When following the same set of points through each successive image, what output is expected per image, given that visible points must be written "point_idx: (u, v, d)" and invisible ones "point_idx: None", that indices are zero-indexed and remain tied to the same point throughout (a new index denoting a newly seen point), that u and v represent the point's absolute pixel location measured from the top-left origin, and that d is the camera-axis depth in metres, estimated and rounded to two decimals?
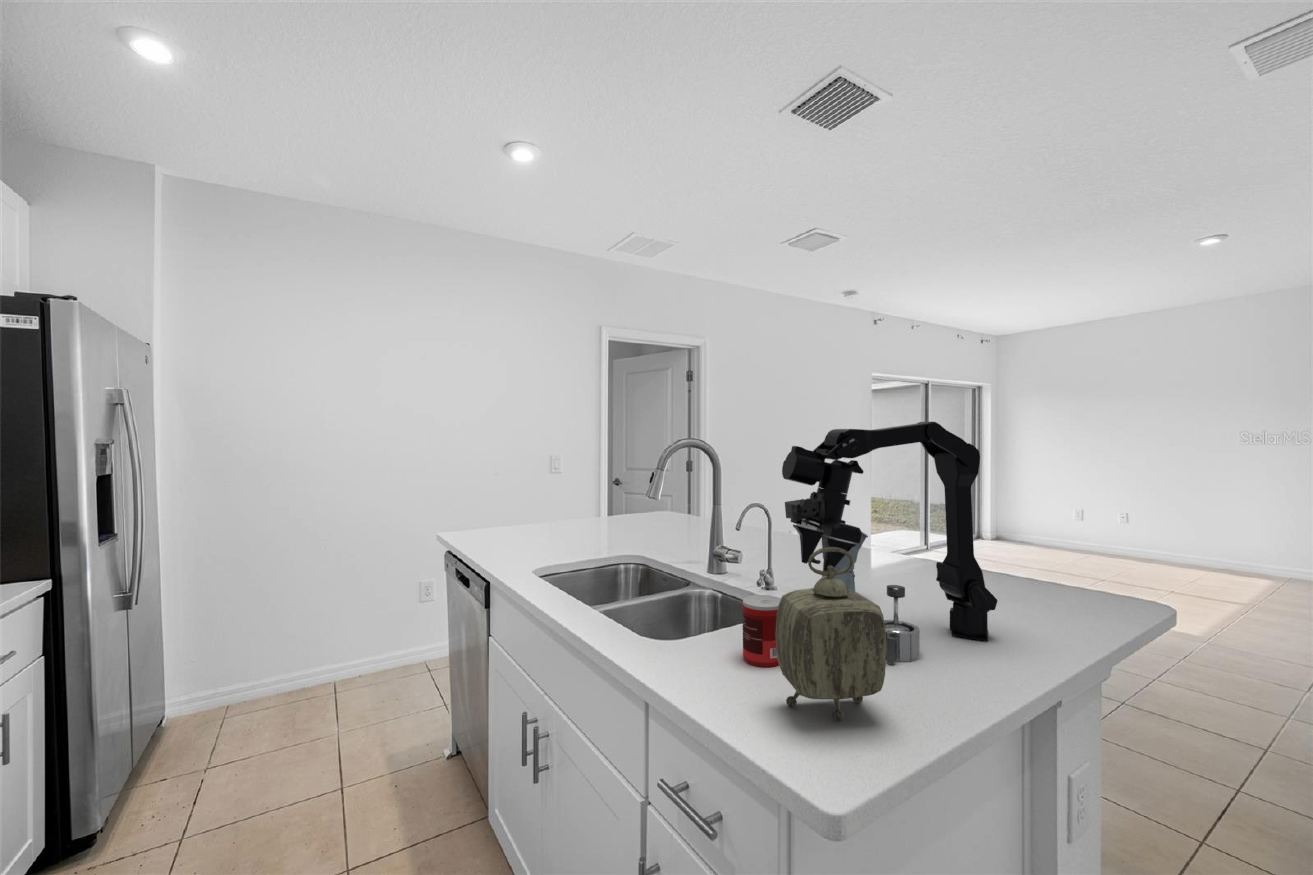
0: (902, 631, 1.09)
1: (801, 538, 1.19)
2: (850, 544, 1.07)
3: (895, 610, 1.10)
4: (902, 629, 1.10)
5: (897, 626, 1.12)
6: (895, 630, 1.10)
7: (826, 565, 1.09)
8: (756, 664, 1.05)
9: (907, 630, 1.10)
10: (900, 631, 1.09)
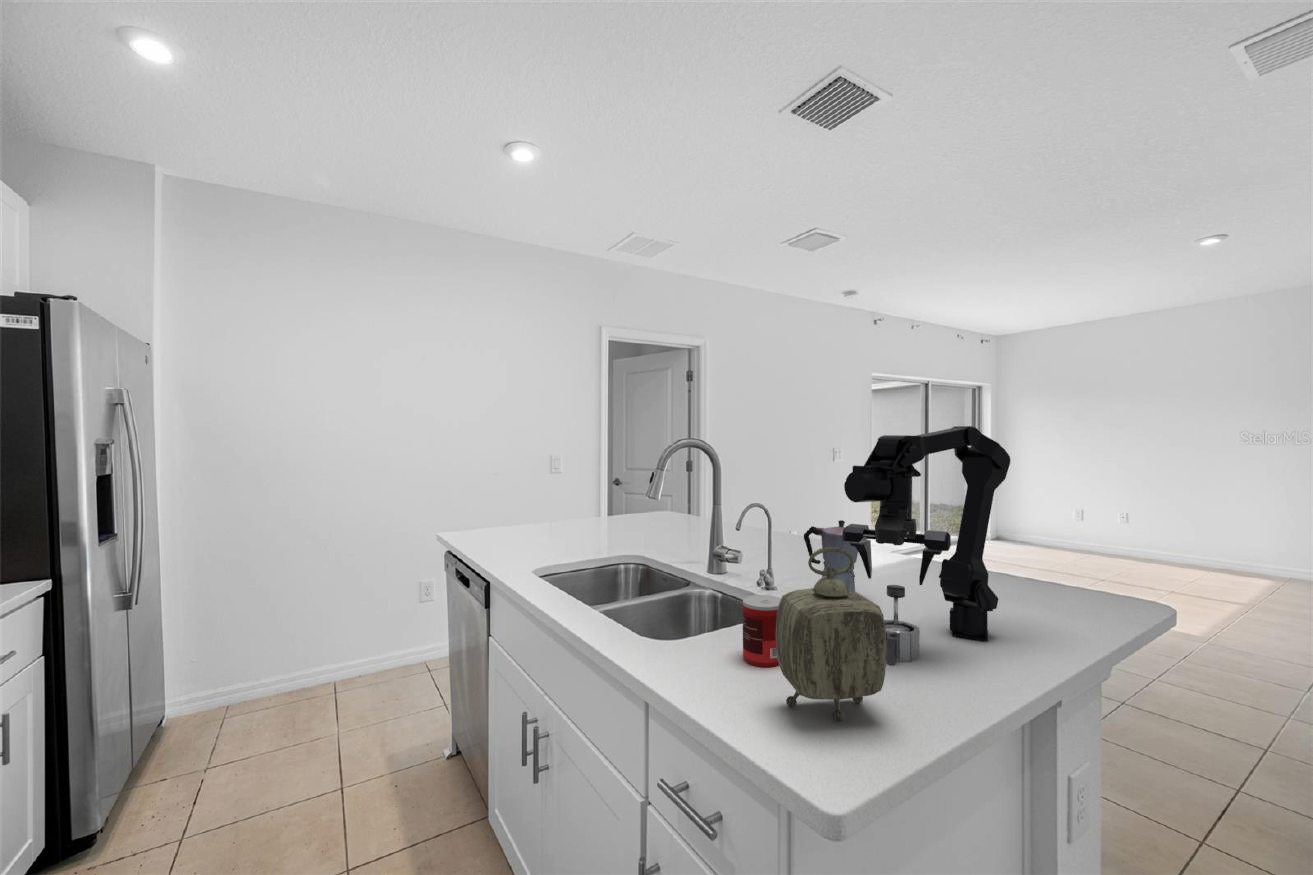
0: (902, 631, 1.09)
1: (864, 555, 1.14)
2: None
3: (895, 610, 1.10)
4: (902, 629, 1.10)
5: (897, 626, 1.12)
6: (895, 630, 1.10)
7: (924, 576, 1.09)
8: (756, 664, 1.05)
9: (907, 630, 1.10)
10: (900, 631, 1.09)
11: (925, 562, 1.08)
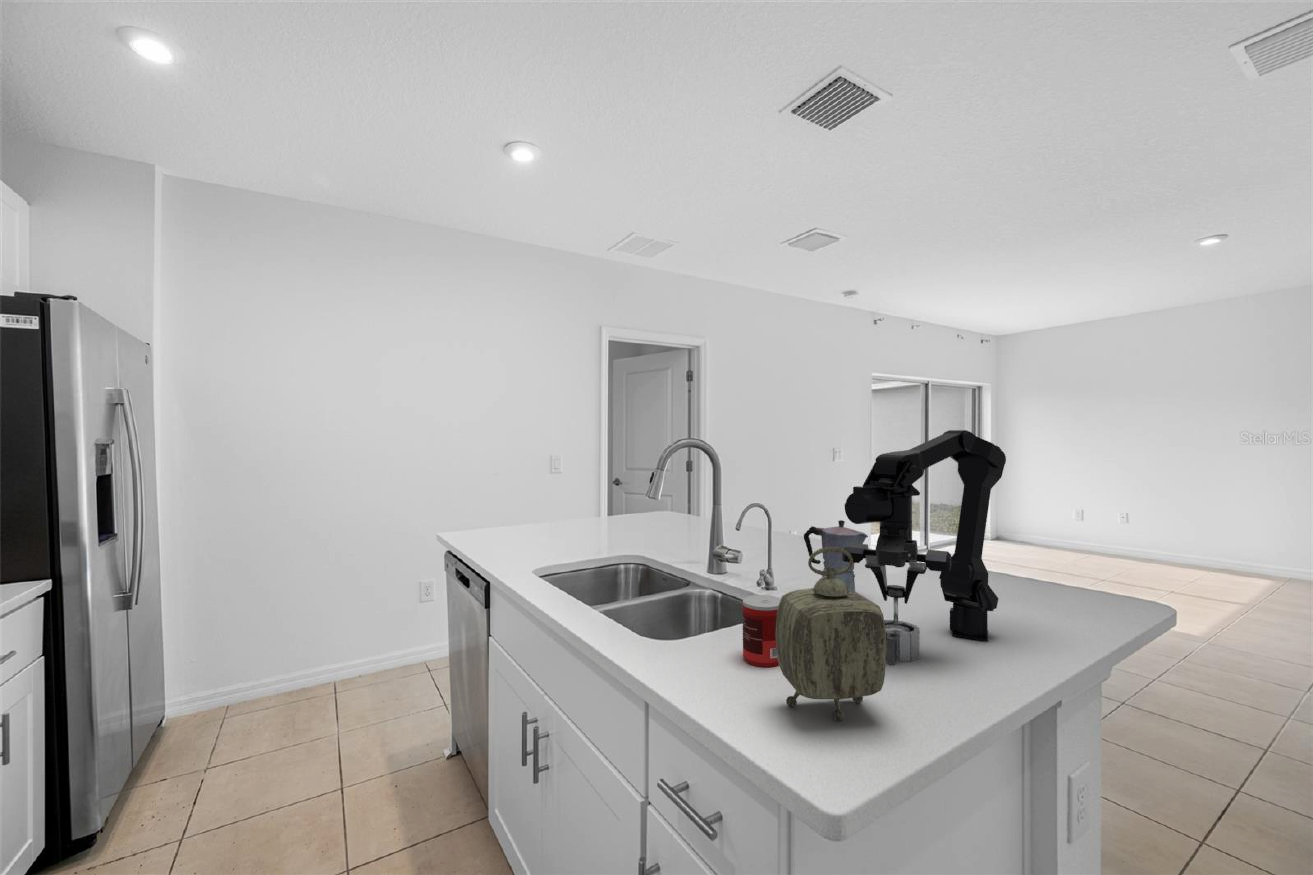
0: (902, 631, 1.09)
1: (879, 577, 1.11)
2: (926, 567, 1.09)
3: (895, 610, 1.10)
4: (902, 629, 1.10)
5: (897, 626, 1.12)
6: (895, 630, 1.10)
7: (909, 595, 1.09)
8: (756, 664, 1.05)
9: (907, 630, 1.10)
10: (900, 631, 1.09)
11: (909, 581, 1.08)
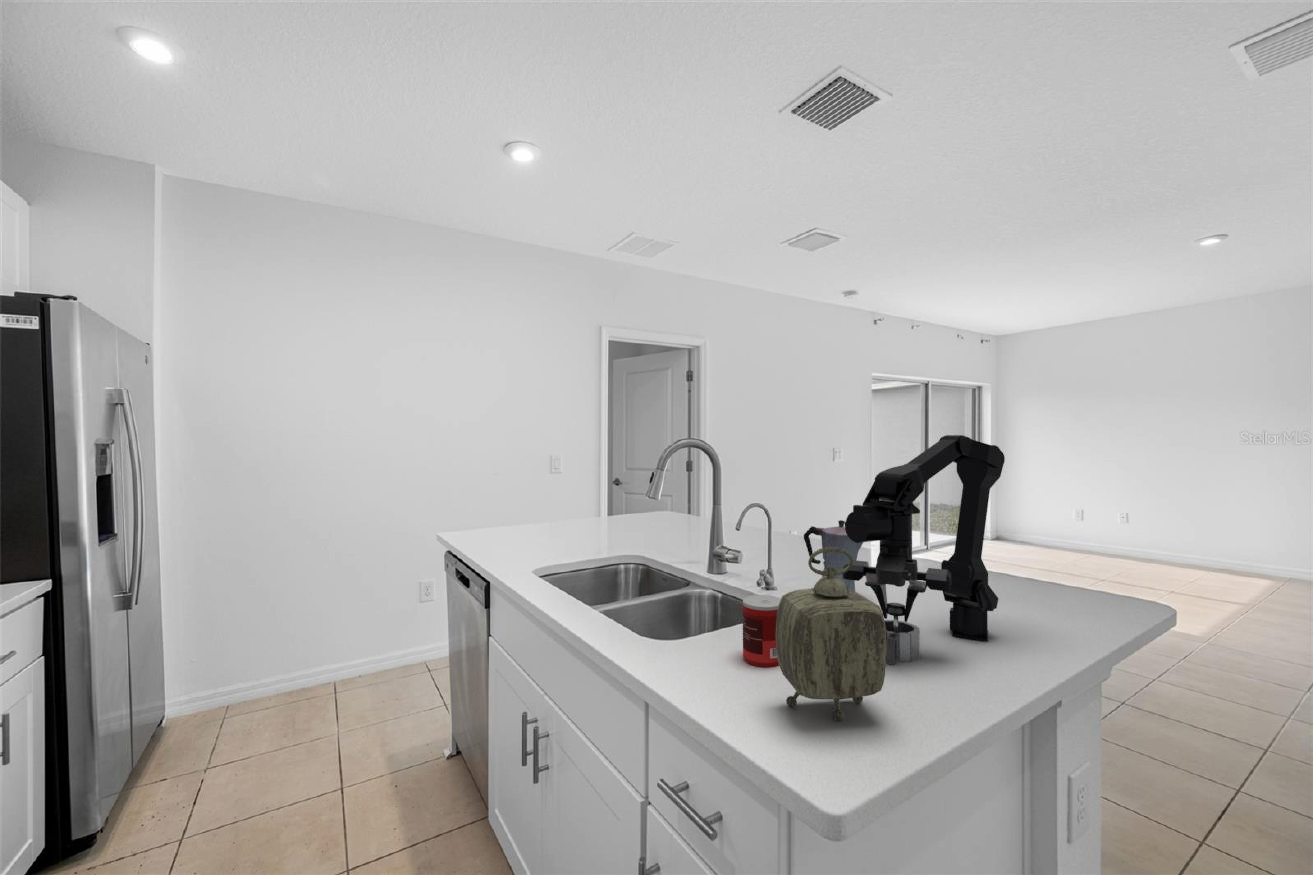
0: None
1: (879, 595, 1.11)
2: (926, 586, 1.10)
3: (895, 628, 1.11)
4: None
5: None
6: None
7: (909, 613, 1.09)
8: (756, 664, 1.05)
9: None
10: None
11: (909, 599, 1.08)
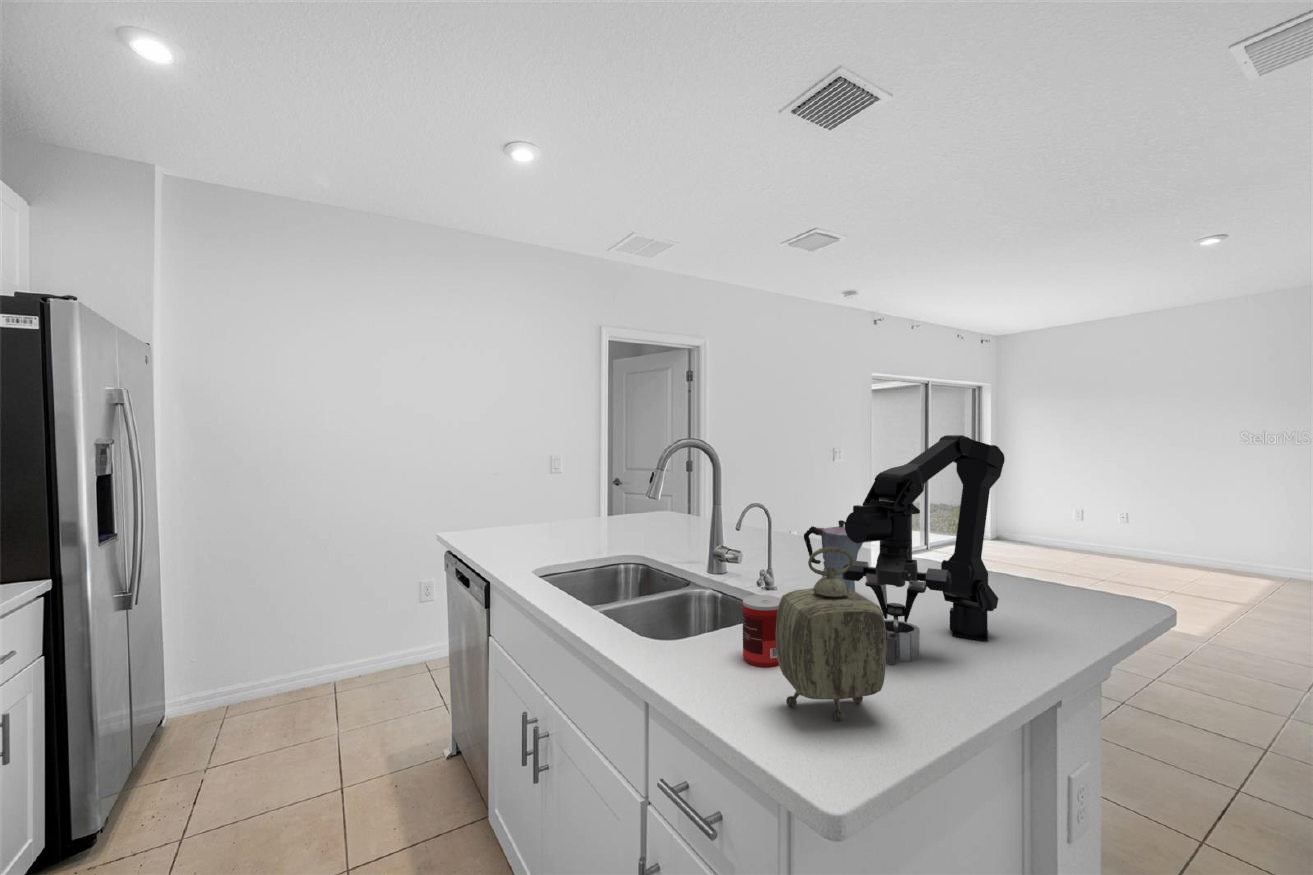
0: None
1: (880, 595, 1.11)
2: (926, 586, 1.10)
3: (895, 628, 1.11)
4: None
5: None
6: None
7: None
8: (756, 664, 1.05)
9: None
10: None
11: (909, 599, 1.08)
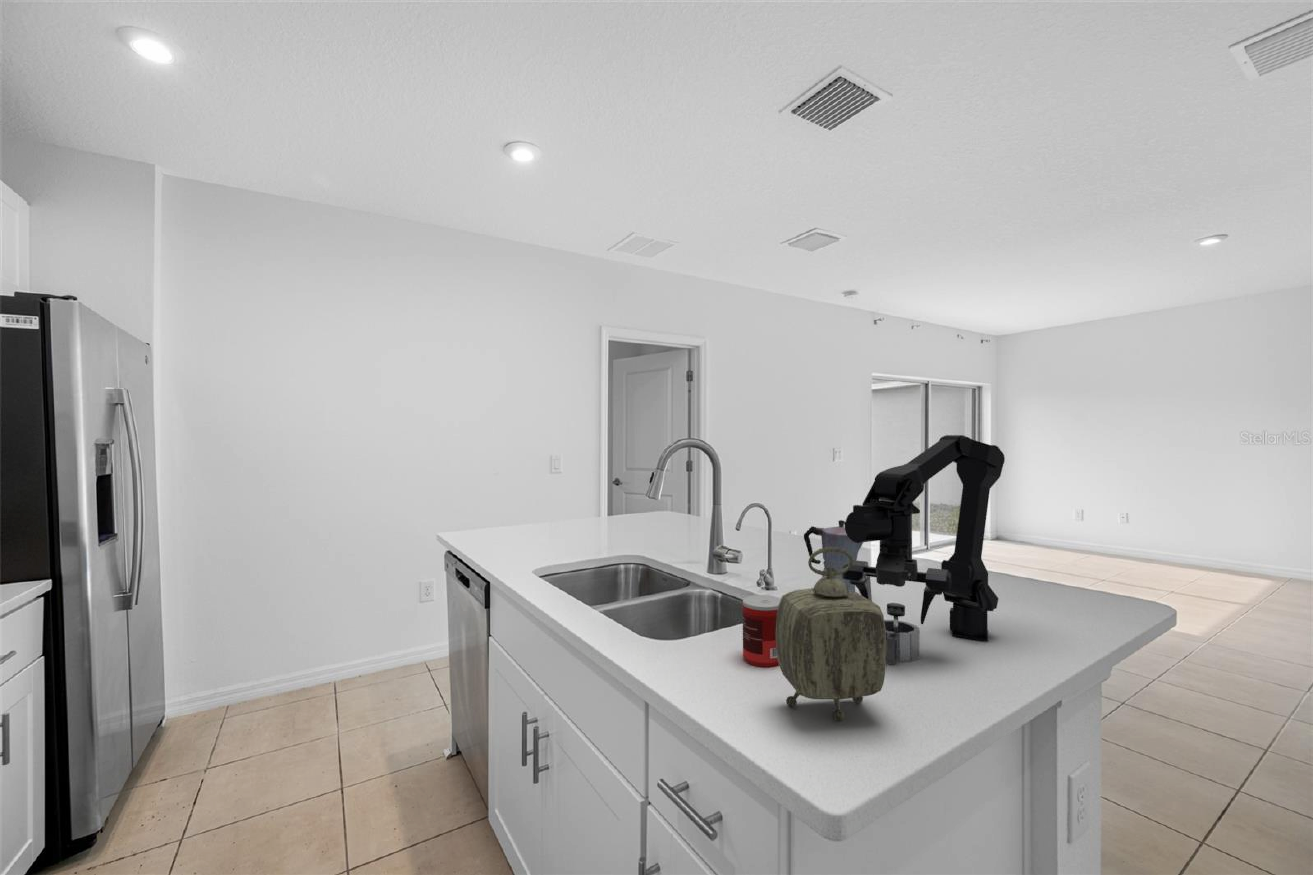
0: None
1: (864, 593, 1.12)
2: None
3: (895, 628, 1.11)
4: None
5: None
6: None
7: (925, 616, 1.08)
8: (756, 664, 1.05)
9: None
10: None
11: (926, 601, 1.07)
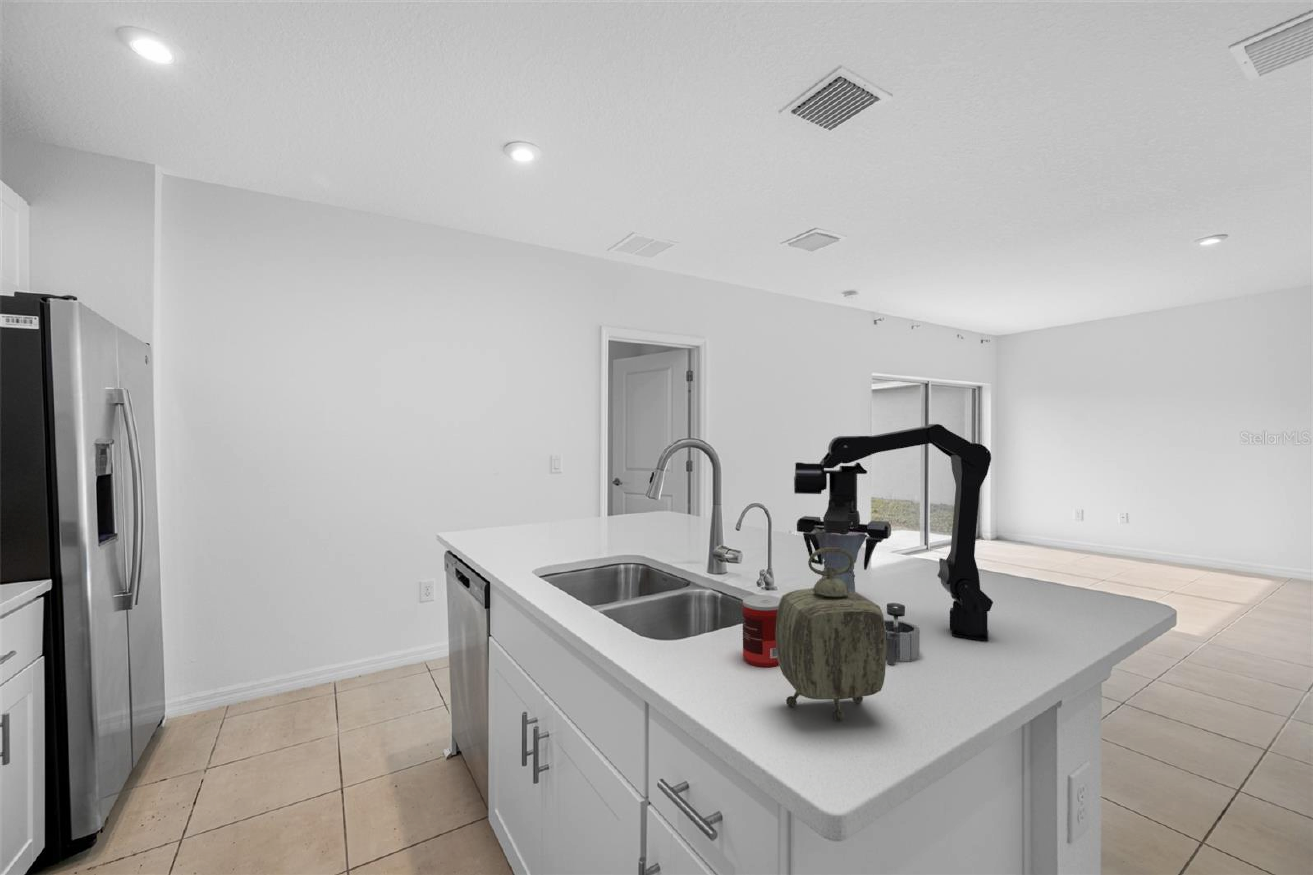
0: None
1: (815, 544, 1.26)
2: None
3: (895, 628, 1.11)
4: None
5: None
6: None
7: (868, 562, 1.22)
8: (756, 664, 1.05)
9: None
10: None
11: (868, 549, 1.21)
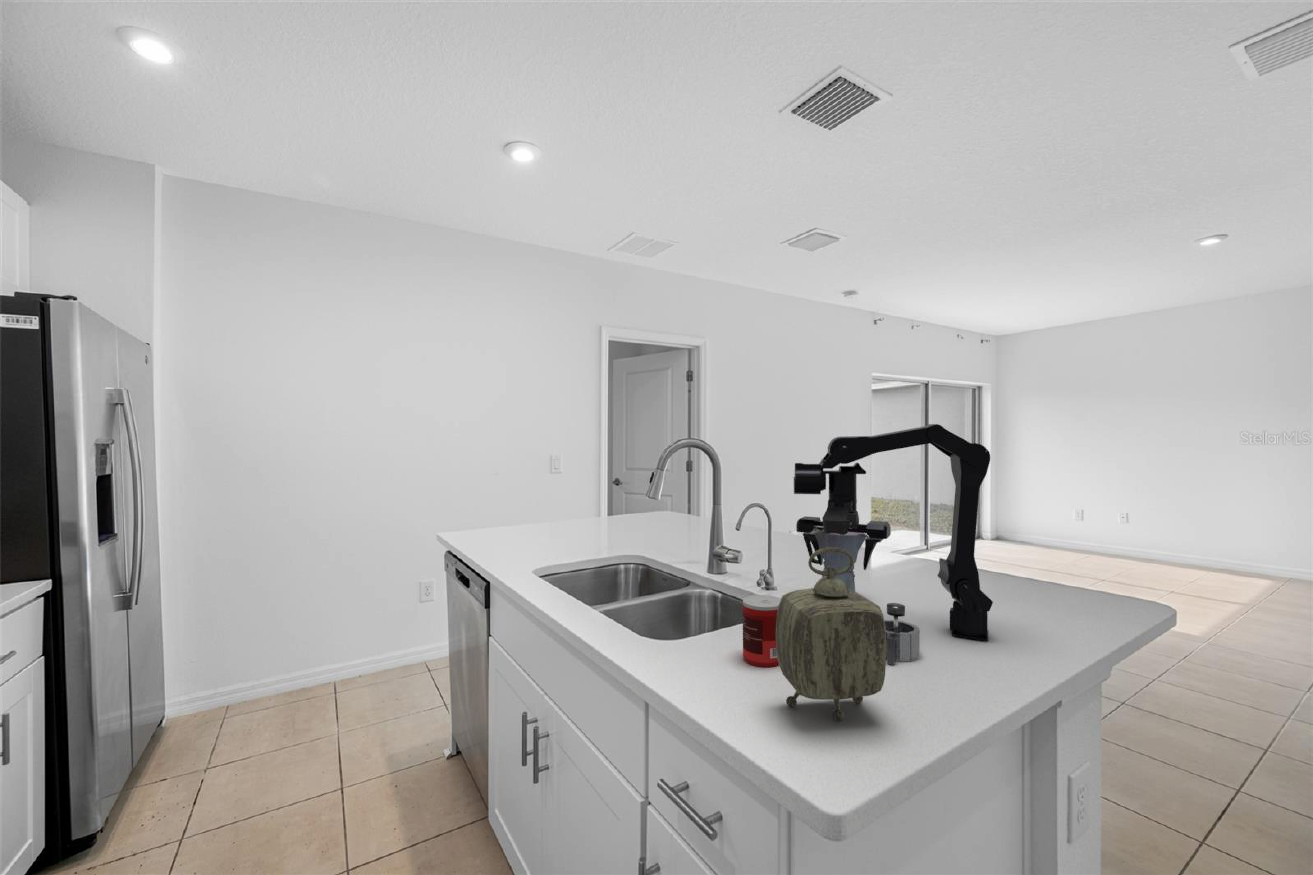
0: None
1: (815, 544, 1.27)
2: None
3: (895, 628, 1.11)
4: None
5: None
6: None
7: (867, 562, 1.22)
8: (756, 664, 1.05)
9: None
10: None
11: (867, 549, 1.21)
